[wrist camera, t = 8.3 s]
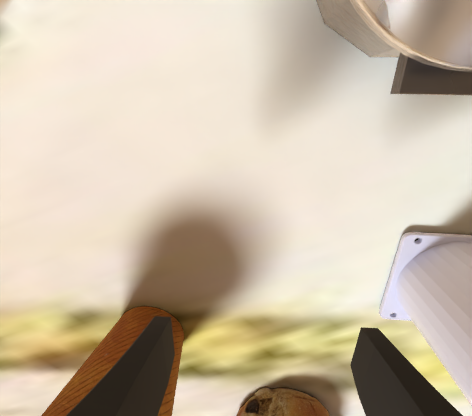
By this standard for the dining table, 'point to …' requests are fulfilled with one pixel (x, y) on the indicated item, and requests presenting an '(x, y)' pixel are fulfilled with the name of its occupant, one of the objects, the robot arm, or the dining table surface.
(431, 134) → the dining table surface
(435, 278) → the robot arm
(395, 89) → the pot
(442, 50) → the lid
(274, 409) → the bread roll
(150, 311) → the disposable coffee cup
